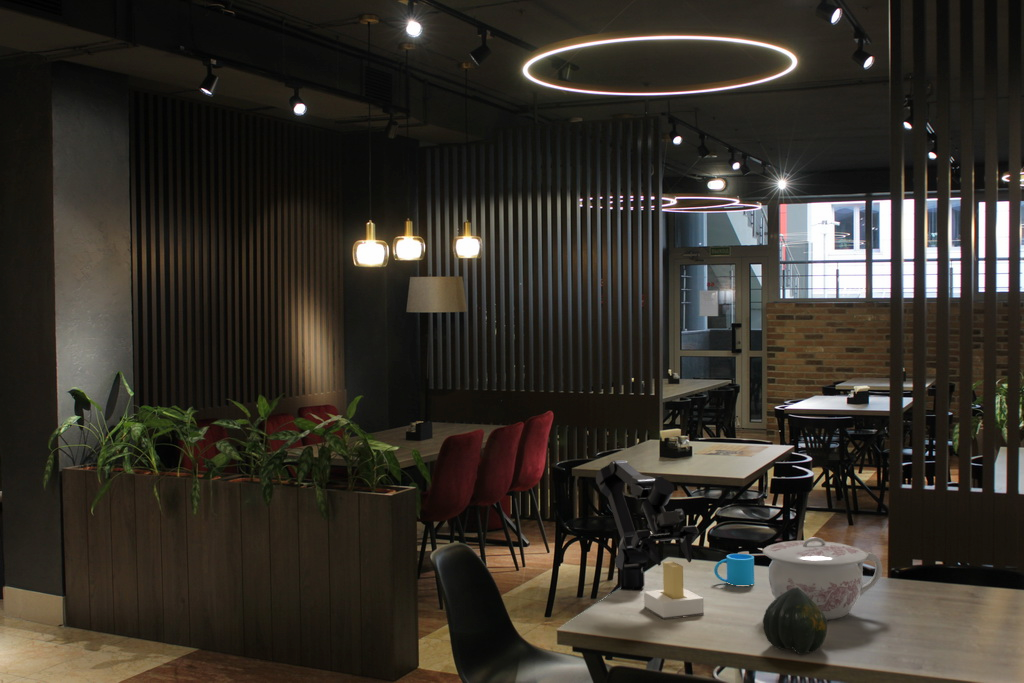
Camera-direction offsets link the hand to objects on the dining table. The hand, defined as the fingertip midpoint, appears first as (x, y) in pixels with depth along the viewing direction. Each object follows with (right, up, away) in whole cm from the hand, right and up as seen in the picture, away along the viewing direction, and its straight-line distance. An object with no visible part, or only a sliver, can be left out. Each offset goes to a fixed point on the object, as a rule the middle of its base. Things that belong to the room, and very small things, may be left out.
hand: (675, 563), depth 276 cm
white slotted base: (0, -14, +2) cm, 14 cm away
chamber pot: (+38, -13, -3) cm, 40 cm away
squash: (+24, -14, -32) cm, 42 cm away
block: (0, -13, +1) cm, 13 cm away
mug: (+23, -13, +30) cm, 40 cm away
